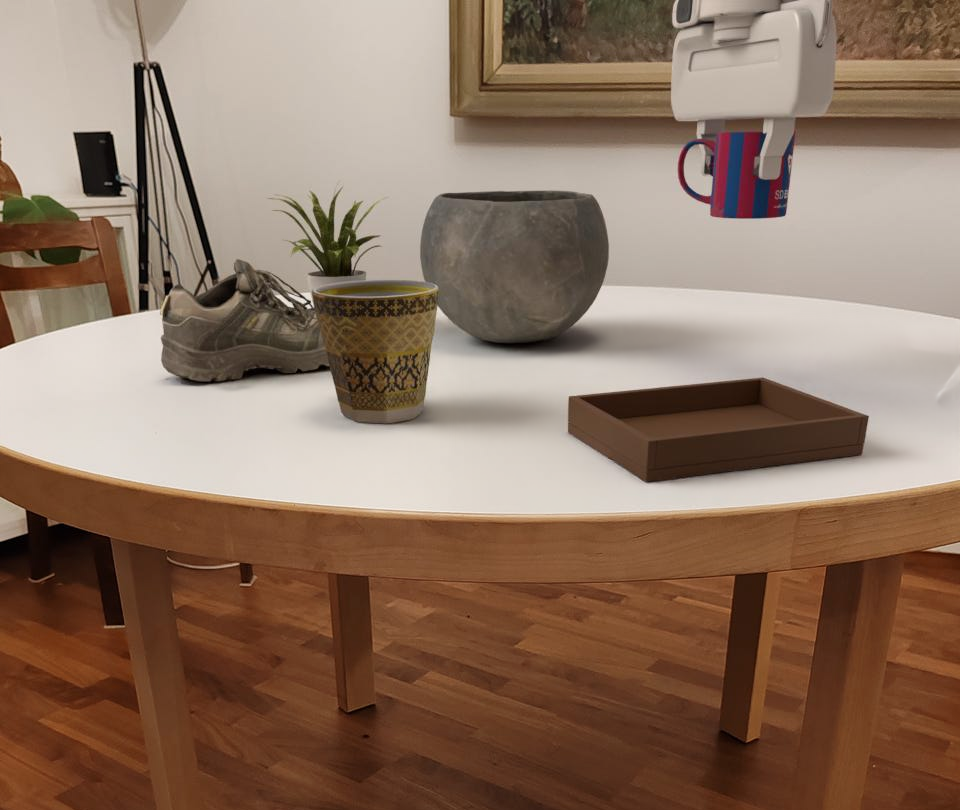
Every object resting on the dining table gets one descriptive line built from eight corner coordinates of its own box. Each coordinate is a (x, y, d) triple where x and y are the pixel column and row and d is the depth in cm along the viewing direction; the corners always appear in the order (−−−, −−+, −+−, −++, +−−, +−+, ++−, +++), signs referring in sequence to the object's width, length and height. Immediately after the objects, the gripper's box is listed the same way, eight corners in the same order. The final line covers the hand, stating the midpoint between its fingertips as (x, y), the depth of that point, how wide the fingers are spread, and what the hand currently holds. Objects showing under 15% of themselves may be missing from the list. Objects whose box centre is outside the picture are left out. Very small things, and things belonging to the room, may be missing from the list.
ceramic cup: (464, 416, 81) (461, 289, 76) (354, 436, 76) (344, 301, 71) (391, 387, 91) (385, 272, 86) (290, 402, 86) (277, 282, 81)
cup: (774, 219, 85) (783, 131, 82) (664, 217, 90) (670, 133, 87) (794, 214, 90) (804, 130, 87) (690, 212, 95) (695, 132, 92)
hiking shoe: (391, 342, 98) (345, 227, 97) (192, 395, 89) (139, 269, 88) (360, 374, 106) (318, 268, 105) (175, 425, 97) (127, 310, 96)
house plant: (246, 334, 116) (228, 182, 108) (308, 315, 127) (295, 176, 120) (352, 341, 111) (341, 182, 103) (407, 321, 122) (400, 176, 115)
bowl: (397, 353, 104) (389, 199, 98) (456, 321, 122) (453, 188, 115) (585, 362, 99) (591, 199, 92) (619, 327, 117) (626, 188, 110)
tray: (758, 411, 81) (763, 377, 80) (862, 454, 70) (869, 415, 69) (567, 432, 76) (568, 396, 75) (645, 482, 65) (648, 440, 64)
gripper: (869, -23, 74) (841, 180, 80) (724, 8, 91) (710, 173, 97) (797, -26, 72) (774, 182, 78) (663, 7, 89) (653, 175, 95)
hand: (738, 177), depth 88 cm, fingers closed on cup, 7 cm apart
